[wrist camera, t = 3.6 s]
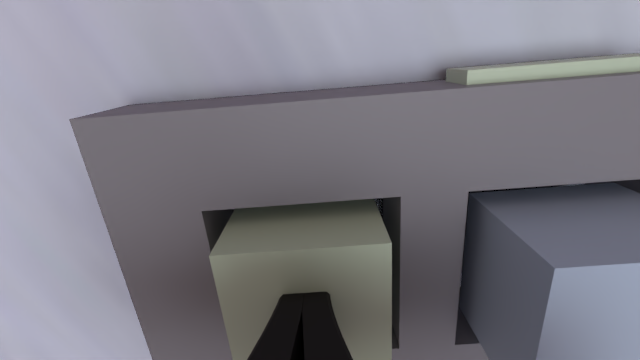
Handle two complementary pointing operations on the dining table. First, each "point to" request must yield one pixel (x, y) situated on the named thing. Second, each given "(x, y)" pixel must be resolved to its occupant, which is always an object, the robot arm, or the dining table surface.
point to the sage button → (307, 270)
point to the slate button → (554, 273)
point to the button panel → (350, 180)
